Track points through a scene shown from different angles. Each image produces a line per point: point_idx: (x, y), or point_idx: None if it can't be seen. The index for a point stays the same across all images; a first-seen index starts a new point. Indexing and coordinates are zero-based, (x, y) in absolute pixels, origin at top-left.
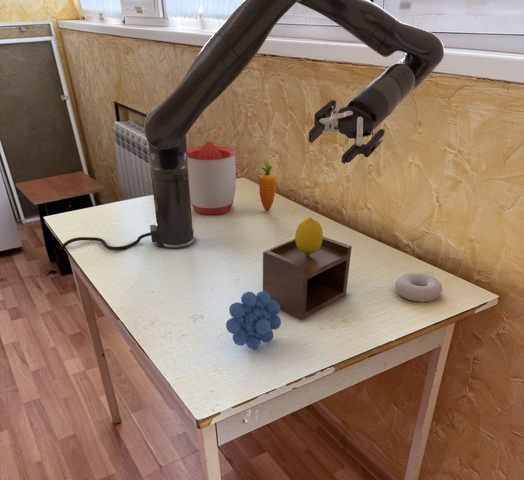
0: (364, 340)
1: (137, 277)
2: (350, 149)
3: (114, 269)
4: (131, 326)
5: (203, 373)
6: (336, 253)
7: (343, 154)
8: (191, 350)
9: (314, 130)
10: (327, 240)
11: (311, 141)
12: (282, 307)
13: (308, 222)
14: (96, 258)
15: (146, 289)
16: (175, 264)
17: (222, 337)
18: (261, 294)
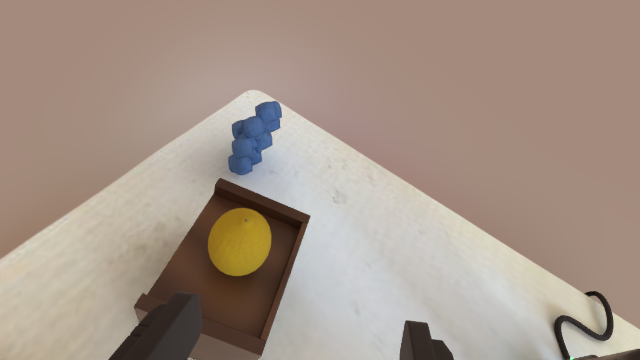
0: (104, 208)
1: (464, 258)
2: (155, 329)
3: (501, 267)
4: (381, 168)
5: None
6: (173, 294)
7: (192, 294)
8: (307, 148)
9: (425, 348)
10: (204, 318)
11: (401, 351)
12: None
13: (245, 213)
14: (544, 286)
15: (430, 235)
16: (464, 317)
17: (291, 171)
18: (254, 116)
